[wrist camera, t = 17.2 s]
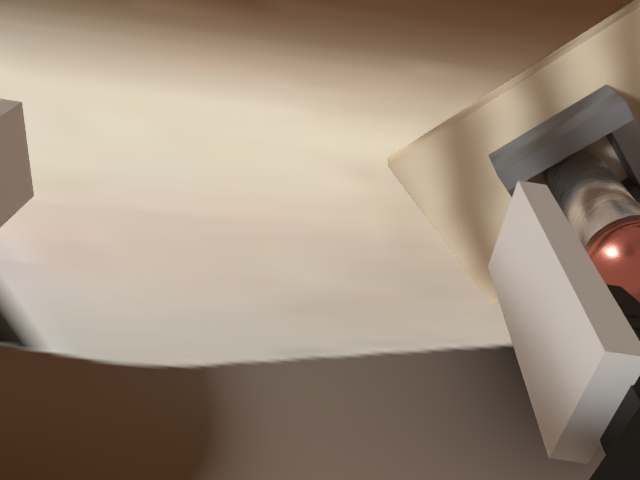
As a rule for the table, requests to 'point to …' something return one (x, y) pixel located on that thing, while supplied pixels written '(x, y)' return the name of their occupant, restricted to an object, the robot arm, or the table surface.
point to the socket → (528, 138)
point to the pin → (600, 216)
